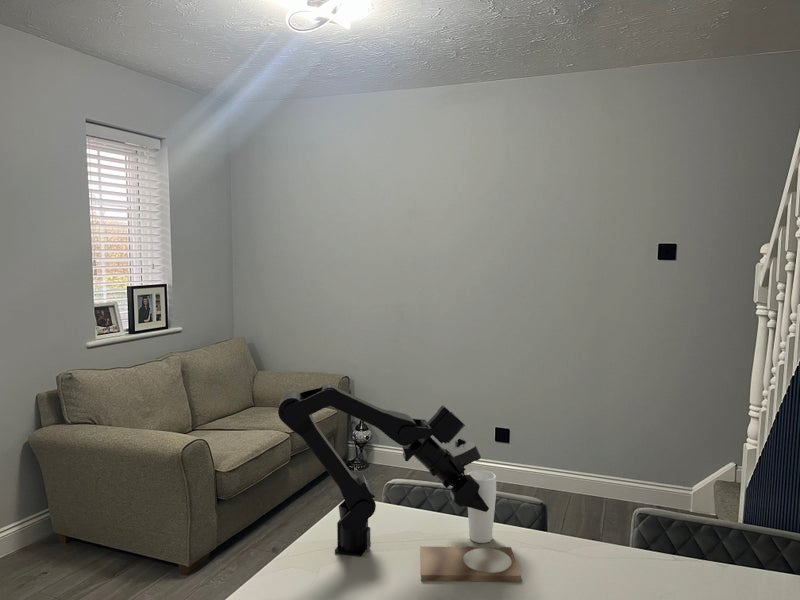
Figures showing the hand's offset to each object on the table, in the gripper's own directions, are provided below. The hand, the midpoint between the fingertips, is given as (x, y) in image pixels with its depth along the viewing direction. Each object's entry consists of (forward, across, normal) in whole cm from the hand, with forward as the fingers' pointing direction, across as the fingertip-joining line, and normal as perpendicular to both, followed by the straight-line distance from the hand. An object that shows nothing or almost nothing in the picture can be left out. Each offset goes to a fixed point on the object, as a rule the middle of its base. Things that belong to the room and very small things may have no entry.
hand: (481, 501), depth 137 cm
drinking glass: (+6, 0, +6) cm, 9 cm away
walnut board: (+2, -12, +11) cm, 16 cm away
